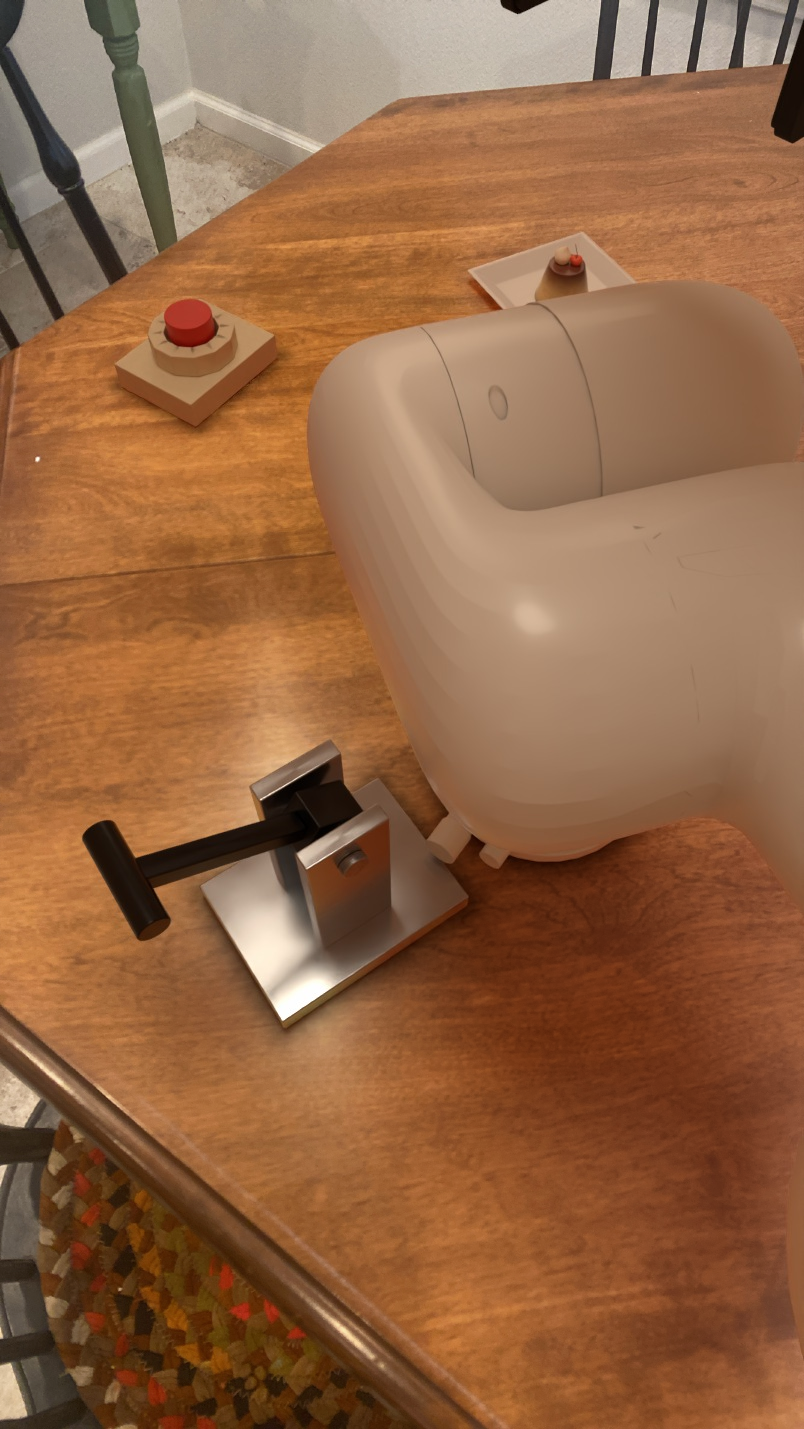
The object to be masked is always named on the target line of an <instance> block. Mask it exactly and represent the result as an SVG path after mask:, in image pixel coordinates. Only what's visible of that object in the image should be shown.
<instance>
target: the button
mask: <svg viewBox="0 0 804 1429" xmlns="http://www.w3.org/2000/svg"><path fill="white" fill-rule="evenodd" d="M165 310H166V311H165ZM165 310H164V311H165V313H164V320H165V324H166V328H167V332H168V336H169V339H170V341H171V342H172V343H173V344H174V345H176V346H178V347H191V348H193V347H196V346H200V345H203V344H206V343H208V342H209V341H210V340H211V339H213V337H214V335H215V327H214V322H213V317H212V311H211V308H210V307H209V306H208V305H207V304H206V303H205V302H203V301H200V300H198V299H195V298H186V299H180V300H177V301H175V302H173V303H171V304H170V305H168V307H166V309H165Z"/></svg>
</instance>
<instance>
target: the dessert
mask: <svg viewBox="0 0 804 1429" xmlns="http://www.w3.org/2000/svg"><path fill="white" fill-rule="evenodd" d="M467 272H468V273H469V274H470V275H471V277H472V278H473V279H474V280H475V281H476V282H477V283H478V284H479V285H480V286H481V287H482V289H484V291H485V292H486V293H487V294H489V296H490V297H491V298H492V299H493V300H494V302H496V304H497V305H498V306H499V307H500V308H501V310H502V309H508V308H513V307H519V306H524V305H526V304H528V303H531V302H536V301H542V300H547V299H553V298H558V297H564V296H569V295H575V294H580V293H586V292H591V291H596V290H600V289H605V288H611V287H617V286H623V285H628V284H635V283H639V282H638V281H637V280H636V279H635V278H633V277H632V275H630V274H629V273H628V272H627V271H626V270H625V269H624V268H623V267H622V266H621V265H620V264H619V263H617V261H616V260H614V258H612V257H611V256H610V255H609V254H608V253H607V252H606V251H605V250H604V249H603V248H602V247H601V246H599V245H598V243H597V242H595V241H594V240H593V239H592V238H591V237H590V236H589V235H588V234H587V233H586V232H585V231H582V230H581V231H579V232H576V233H573V234H570V235H567V236H564V237H561V238H558V239H555V240H552V241H549V242H546V243H543V244H540V245H538V246H534V247H531V248H528V249H525V250H523V251H520V252H516V253H513V254H510V255H507V256H504V257H502V258H499V259H495V260H492V261H489V262H487V263H483V264H480V265H478V266H475V267H472V268H469V269H467Z"/></svg>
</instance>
